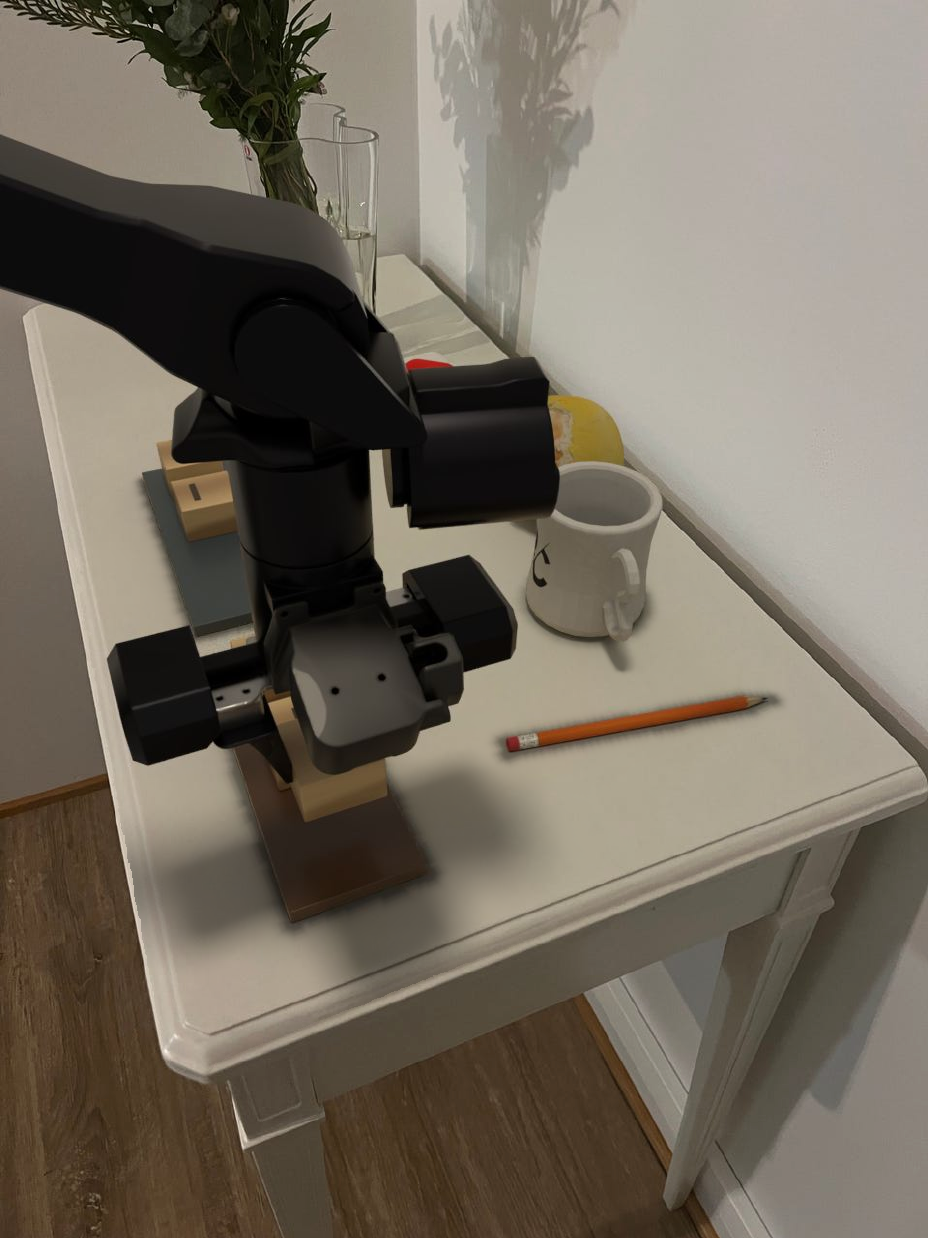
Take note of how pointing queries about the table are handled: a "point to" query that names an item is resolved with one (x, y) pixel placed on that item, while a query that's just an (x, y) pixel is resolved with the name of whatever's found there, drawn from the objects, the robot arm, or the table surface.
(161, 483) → the back word strip
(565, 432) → the fruit
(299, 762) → the number block
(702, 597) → the table surface
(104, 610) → the table surface
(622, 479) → the mug
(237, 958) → the table surface
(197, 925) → the table surface
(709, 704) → the pencil
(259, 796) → the strip
